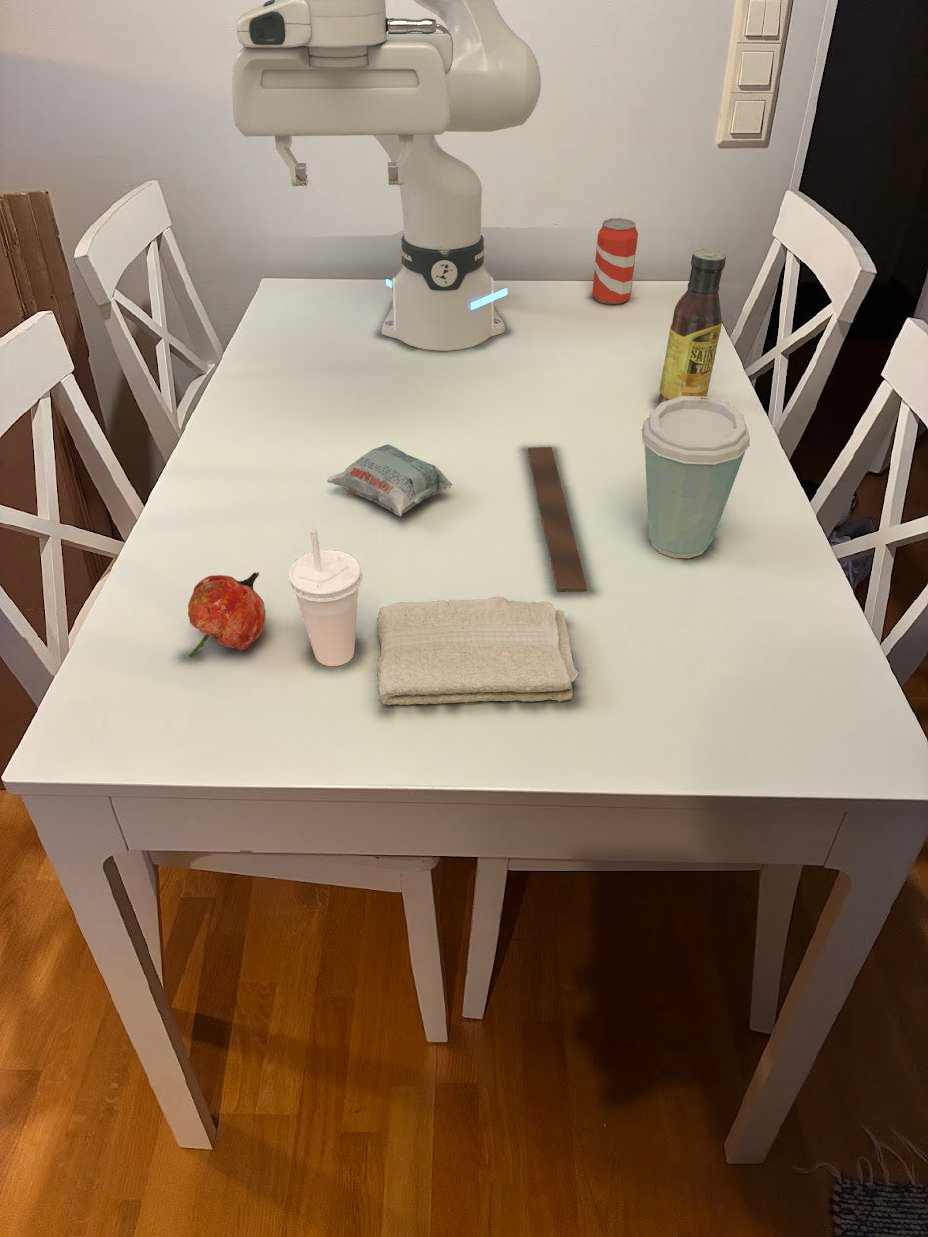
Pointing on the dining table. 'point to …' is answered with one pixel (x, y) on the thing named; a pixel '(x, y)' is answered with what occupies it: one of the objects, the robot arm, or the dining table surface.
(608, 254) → the beverage can
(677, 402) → the disposable coffee cup
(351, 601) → the smoothie
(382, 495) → the packaged food
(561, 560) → the ruler
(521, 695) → the washcloth
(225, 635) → the pomegranate
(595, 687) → the dining table surface
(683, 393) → the sauce bottle
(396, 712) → the dining table surface
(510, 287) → the dining table surface
